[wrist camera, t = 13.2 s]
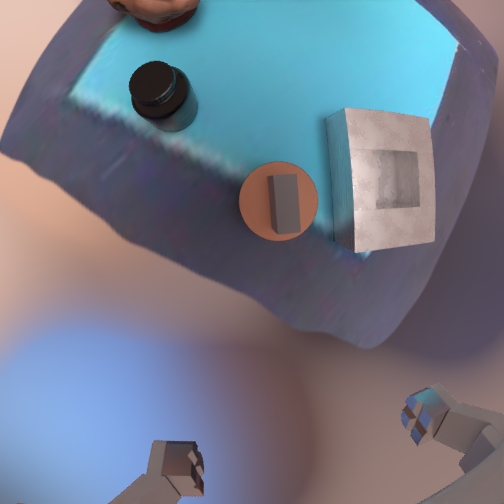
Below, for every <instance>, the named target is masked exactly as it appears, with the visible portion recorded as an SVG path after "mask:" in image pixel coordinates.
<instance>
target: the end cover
mask: <svg viewBox="0 0 504 504" xmlns="http://www.w3.org/2000/svg"><path fill="white" fill-rule="evenodd" d="M239 207H240V211H241V215H242V217H243V219H244V221H245V223H246V224H247V226H248V227H249V228H250V229H251V230H252V231H253V232H254V233H256V234H257V235H259V236H261V237H262V238H265V239H268V240H272V241H284V240H289V239H292V238H295V237H297V236H298V235H300V234H302V233H303V232H304V231H305V230H306V229H307V228H308V227H309V226H310V224H311V223H312V221H313V220H314V218H315V215H316V212H317V207H318V195H317V190H316V187H315V185H314V183H313V181H312V179H311V178H310V177H309V175H308V174H307V173H306V172H305V171H304V170H302V169H301V168H299V167H298V166H296V165H294V164H291V163H287V162H270V163H267V164H264V165H262V166H260V167H258V168H256V169H255V170H254V171H252V172H251V173H250V174H249V175H248V177H247V178H246V179H245V181H244V183H243V185H242V187H241V191H240V195H239Z"/></svg>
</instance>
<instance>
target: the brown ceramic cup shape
mask: <svg viewBox="0 0 504 504" xmlns="http://www.w3.org/2000/svg"><path fill="white" fill-rule="evenodd" d="M108 2H109V4H110V5H111V6H112V7H113V8H114V9H116V10H118V11H120V12H122V13H125V14H129V15H130V16H132V17H133V18H135V19H136V20H137V22H138V23H139V24H140V25H141V26H142V27H144V28H146V29H148V30H150V31H152V32H163V31H168V30H172V29H174V28H177V27H179V26H181V25H182V24H184V23H185V22H187V21H188V20H189V19H190V18H191V17H192V16H193V15H194V13H195V12H196V9H197V6H198V4H199V2H200V0H108Z"/></svg>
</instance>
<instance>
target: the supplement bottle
mask: <svg viewBox="0 0 504 504" xmlns="http://www.w3.org/2000/svg"><path fill="white" fill-rule="evenodd" d="M129 91H130V94H131V102H132V105H133V108H134V109H135V111H136V112H137V113H138V114H139V115H140V116H141V117H143V118H144V119H145V120H147V121H148V122H150V123H151V124H152V125H154V126H155V127H157V128H158V129H160V130H162V131H166V132H175V131H179V130H182V129H184V128H185V127H187V126H188V125H189V124H190V123H191V122H192V121H193V120H194V118H195V116H196V113H197V109H198V104H197V99H196V97H195V94H194V92H193V89H192V87H191V84H190V82H189V80H188V78H187V76H186V75H185V73H184V72H183V71H181V70H180V69H178V68H176V67H173V66H170V65H168V64H167V63H164V62H161V61H153V62H152V61H150V62H148V63H145V64H143V65H142V66H141V67H139V68H138V69H137V70H136V71H135V72H134V73H133V74H132V77H131V78H130V82H129Z"/></svg>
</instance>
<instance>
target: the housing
mask: <svg viewBox="0 0 504 504" xmlns="http://www.w3.org/2000/svg"><path fill="white" fill-rule="evenodd" d="M325 123H326V131H327V140H328V149H329V160H330V171H331V184H332V199H333V217H334V241H335V242H337V243H339V244H340V245H342V246H344V247H346V248H347V249H349V250H351V251H353V252H354V253H357V252H365V251H372V250H379V249H386V248H393V247H400V246H407V245H414V244H421V243H428V242H434V238H435V177H434V161H433V150H432V141H431V133H430V125H429V119H428V118H424V117H418V116H413V115H406V114H400V113H393V112H386V111H377V110H368V109H357V108H343V109H341V110H340V111H338V112H336V113H334V114H333V115H331V116H329V117H328V118H326V119H325Z"/></svg>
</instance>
